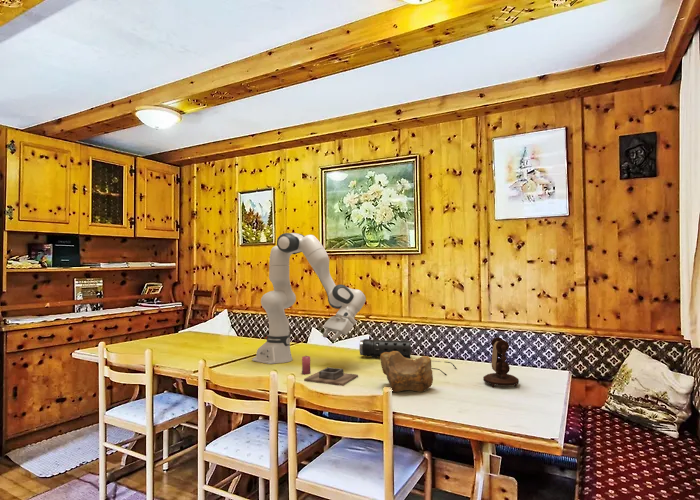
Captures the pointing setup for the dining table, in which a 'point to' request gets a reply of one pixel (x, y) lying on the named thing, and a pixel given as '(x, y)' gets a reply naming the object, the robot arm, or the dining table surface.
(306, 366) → the candle
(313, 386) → the dining table surface
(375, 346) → the muzzle brake
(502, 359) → the dark brown ornamental stand
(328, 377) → the candle board
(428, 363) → the rough brown rock
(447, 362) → the eyeglasses
